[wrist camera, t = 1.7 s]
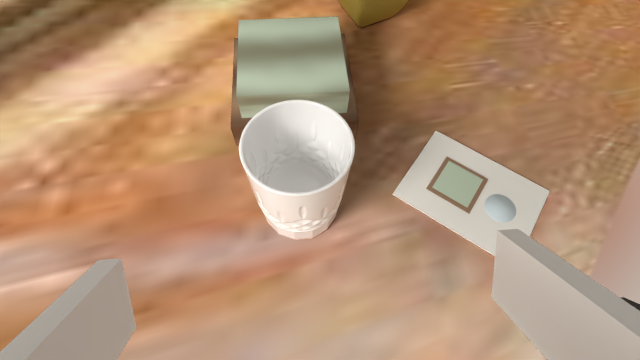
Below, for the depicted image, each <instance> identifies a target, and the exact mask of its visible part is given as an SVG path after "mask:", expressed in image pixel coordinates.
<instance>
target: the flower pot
mask: <svg viewBox="0 0 640 360" xmlns="http://www.w3.org/2000/svg"><path fill="white" fill-rule="evenodd" d="M338 1H339V3H340V4H341V6H342V7H343V8H344V10H345V11H346V12H347V13H348V14H349V16H350V17H351V18H352V19H353V21H354V22H355V23H356V25H357V26H359V27H365V26H367V25H370V24H373V23H376V22H379V21H382V20H385V19H388V18H391V17H393V16H394V15H395V14H396V13H398V12H399V11H400V10H401V9H402V8H403V7H404V6H405V5H406V4H407V3H408V1H409V0H338Z"/></svg>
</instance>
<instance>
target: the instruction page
mask: <svg viewBox="0 0 640 360" xmlns="http://www.w3.org/2000/svg"><path fill="white" fill-rule="evenodd" d="M549 192H550V191H549V190H547V189H545V188H543V187H541V186H539V185H537V184H536V183H534V182H532V181H530V180H528V179H526V178H524V177H522V176H521V175H519V174H517V173H515V172H513V171H511V170H509V169H507V168H505V167H504V166H502V165H500V164H498V163H496V162H494V161H492V160H490V159H489V158H487V157H485V156H483V155H481V154H479V153H477V152H475V151H474V150H472V149H470V148H468V147H466V146H464V145H462V144H460V143H459V142H457V141H455V140H453V139H451V138H449V137H447V136H445V135H444V134H442V133H440V132H438V131H435V133H434V134H433V136H432V137H431V139H430V140H429V141H428V143H427V144H426V146H425V147H424V149H423V150H422V152H421V153H420V155H419V156H418V158H417V159H416V160H415V162H414V163H413V165H412V166H411V168H410V169H409V171H408V172H407V174H406V175H405V176H404V178H403V179H402V181H401V182H400V184H399V185H398V187H397V188H396V190H395V191H394V192H393V194H392V195H394V196H396V197H397V198H399V199H400V200H402V201H404V202H405V203H407V204H409V205H410V206H412V207H414V208H415V209H417V210H419V211H420V212H422V213H424V214H425V215H427V216H429V217H430V218H432V219H434V220H435V221H437V222H439V223H440V224H442V225H443V226H445V227H447V228H448V229H450V230H452V231H453V232H455V233H457V234H458V235H460V236H462V237H463V238H465V239H467V240H468V241H470V242H472V243H473V244H475V245H477V246H478V247H480V248H482V249H483V250H485V251H486V252H488V253H490V254H491V255H493V256H495V251H496V239H497V230H508V229H519V230H521V231H522V232H524V233H525V234H527V235H528V236H530V234H531V232H532V230H533V228H534V226H535V223H536V221H537V219H538V217H539V214H540V212H541V210H542V208H543V206H544V203H545V201H546V199H547V197H548V194H549Z"/></svg>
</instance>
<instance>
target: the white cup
mask: <svg viewBox="0 0 640 360" xmlns="http://www.w3.org/2000/svg"><path fill="white" fill-rule="evenodd" d="M354 153H355V141H354V137H353V133H352V131H351V129H350V127H349V125H348V124H347V122H346V121H345V120H344V119H343V117H342V116H340V115H339V114H338V113H337V112H336V111H334V110H333V109H331V108H329V107H327V106H325V105H323V104H320V103H317V102H314V101H309V100H287V101H282V102H278V103H275V104H272V105H270V106H268V107H266V108H264V109H263V110H261V111H260V112H258V113H257V114H256V115H255V116H254V117H252V119H251V120H250V121H249V122H248V123H247V125H246V126H245V128H244V130H243V132H242V135H241V138H240V143H239V155H240V159H241V163H242V165H243V167H244V170H245V172H246V175H247V177H248V180H249V182H250V185H251V187H252V190H253V192H254V195H255V197H256V199H257V201H258V203H259V206H260V208H261V209H262V211H263V213H264V214H265V217H266V220H267V222H268V223H269V224H270V225H271V226H272V227H273V228H274V229H275V230H276V232H277V233H278V234H280V235H283V236H286V237H289V238H292V239H294V240H297V239H308V238H313V237H315V236H317V235H318V234H320V233H322V232H324V231H325V230H327V229H328V227H329V226H330V224H331V223H332V221H333V220H334V218H335V217H336V214H337V209H338V207H339V205H340V202H341V200H342V196H343V193H344V190H345V187H346V183H347V179H348V176H349V172H350V168H351V165H352V161H353V158H354Z"/></svg>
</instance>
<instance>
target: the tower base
mask: <svg viewBox="0 0 640 360" xmlns="http://www.w3.org/2000/svg"><path fill="white" fill-rule="evenodd" d="M287 100H309V101H314V102H317V103H320V104H323V105H325V106H327V107H329V108H331V109H333V110H334V111H336V112H337V113H338V114H339V115H340V116H342V117H343V119H344V120H345V121H346V122H347V124H348V125H349V127H350V129H351V131H352V133H353V137H354V139H355V138H356V132H357V127H358V121H359V120H358V114H357V108H356V102H355V96H354V90H353V84H352V78H351V72H350V66H349V60H348V54H347V48H346V42H345V36H344V34H341V33H340V26H339V20H338V17H313V18H285V19H257V20H239V30H238V38H234V62H233V86H232V110H231V130H232V133H233V136H234V139H235V142H236V145H239V143H240V138H241V135H242V132H243V130H244V128H245V126H246V125H247V123H248V122H249V121H250V120H251V119H252V117H254V116H255V115H256V114H257V113H258V112H260V111H261V110H263V109H264V108H266V107H268V106H270V105H272V104H275V103H278V102H282V101H287Z"/></svg>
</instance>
